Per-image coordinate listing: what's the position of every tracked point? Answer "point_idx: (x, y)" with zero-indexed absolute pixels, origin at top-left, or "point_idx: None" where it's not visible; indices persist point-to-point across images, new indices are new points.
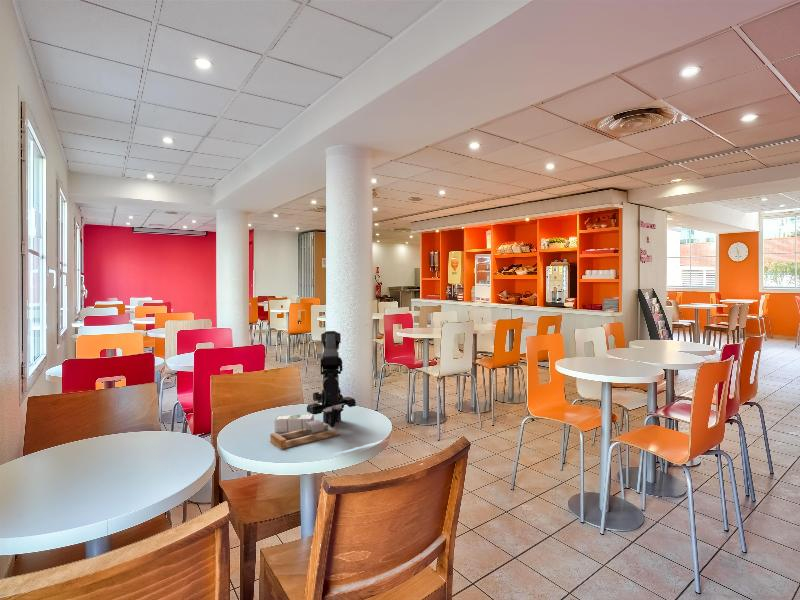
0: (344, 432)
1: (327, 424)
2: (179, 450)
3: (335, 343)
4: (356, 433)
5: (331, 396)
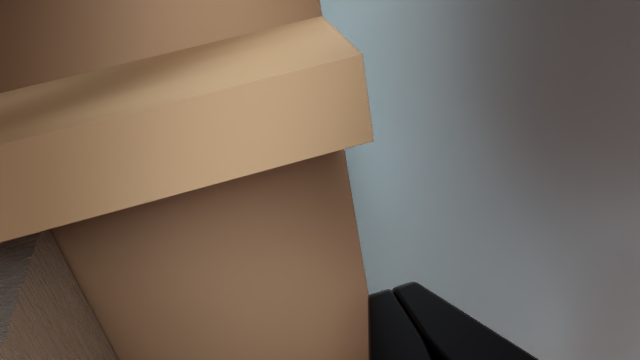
0: (537, 233)
1: (365, 128)
2: None
3: None
4: (625, 322)
5: None
